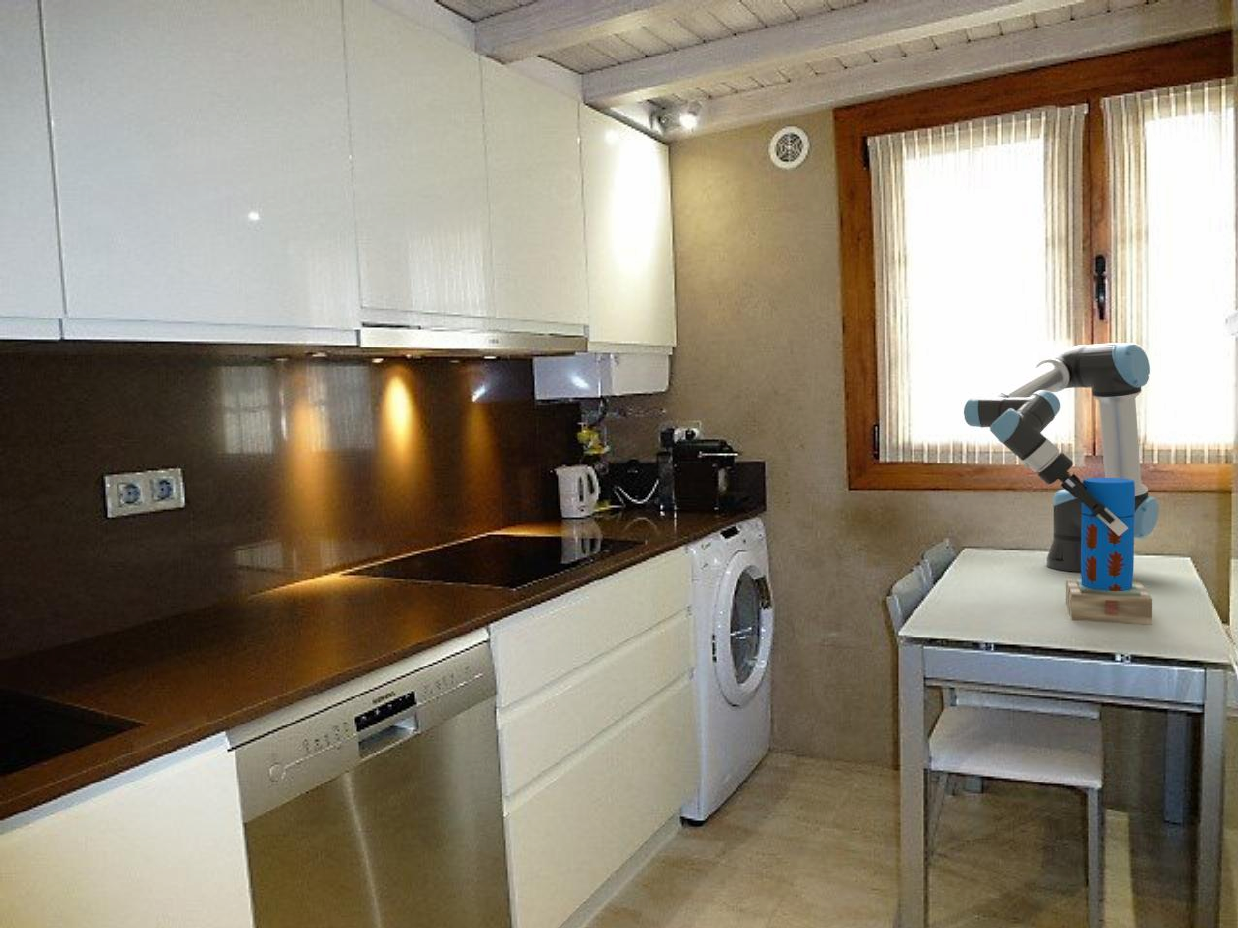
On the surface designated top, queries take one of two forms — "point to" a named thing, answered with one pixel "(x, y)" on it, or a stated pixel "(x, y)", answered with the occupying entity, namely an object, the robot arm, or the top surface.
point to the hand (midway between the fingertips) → (1119, 527)
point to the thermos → (1108, 536)
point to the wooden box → (1108, 604)
